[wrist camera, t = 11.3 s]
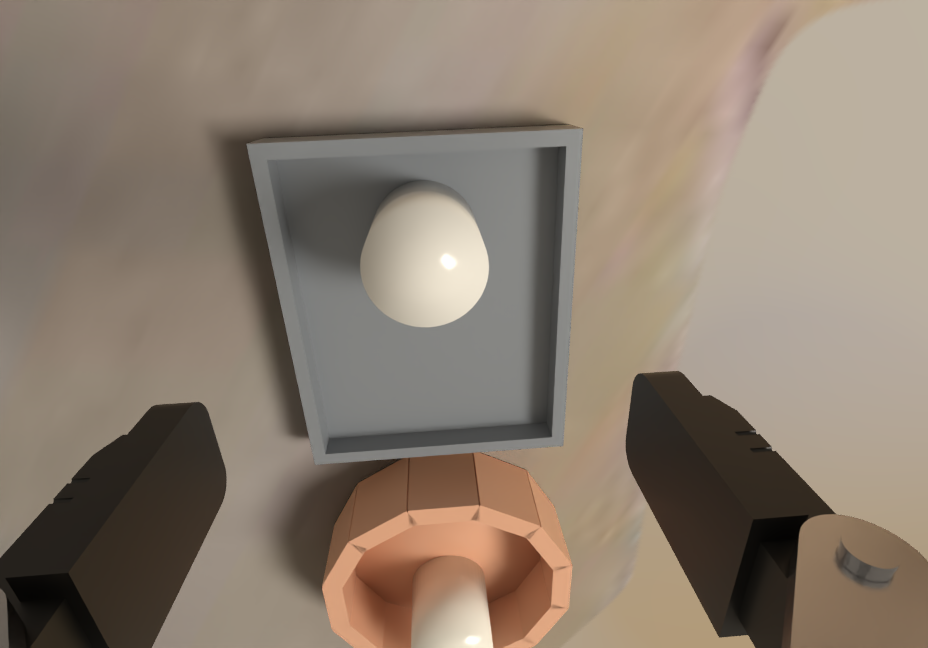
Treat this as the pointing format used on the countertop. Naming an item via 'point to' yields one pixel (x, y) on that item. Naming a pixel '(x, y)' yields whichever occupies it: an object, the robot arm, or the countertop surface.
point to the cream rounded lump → (450, 605)
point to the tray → (425, 348)
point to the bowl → (446, 548)
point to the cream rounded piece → (424, 256)
